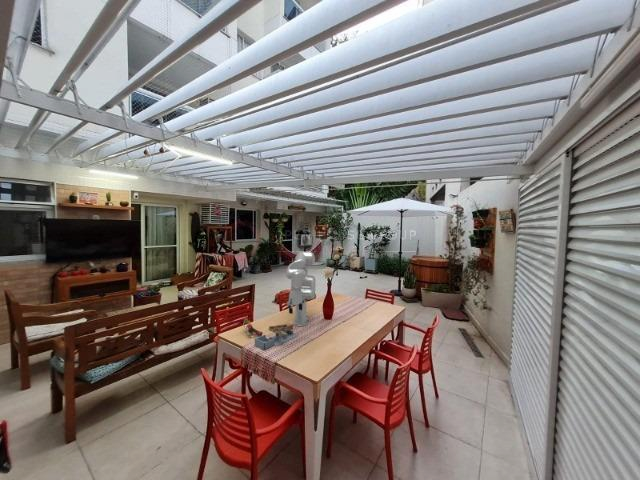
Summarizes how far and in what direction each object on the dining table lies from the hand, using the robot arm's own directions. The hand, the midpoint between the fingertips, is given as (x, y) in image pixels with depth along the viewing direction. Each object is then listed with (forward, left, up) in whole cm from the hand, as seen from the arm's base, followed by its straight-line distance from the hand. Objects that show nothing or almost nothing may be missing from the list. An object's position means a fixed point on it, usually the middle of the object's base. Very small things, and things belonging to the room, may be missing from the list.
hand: (295, 311), depth 181 cm
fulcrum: (+1, -12, -24) cm, 27 cm away
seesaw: (+1, -9, -17) cm, 19 cm away
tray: (+17, -13, -24) cm, 32 cm away
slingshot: (+13, -34, -24) cm, 44 cm away
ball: (-6, -13, -16) cm, 22 cm away
